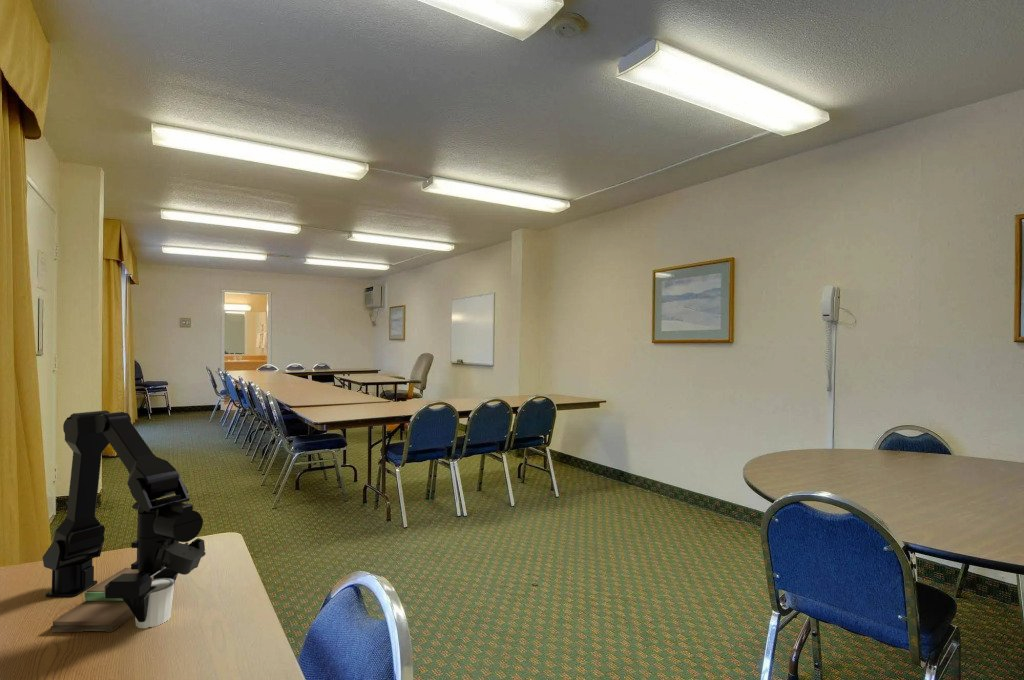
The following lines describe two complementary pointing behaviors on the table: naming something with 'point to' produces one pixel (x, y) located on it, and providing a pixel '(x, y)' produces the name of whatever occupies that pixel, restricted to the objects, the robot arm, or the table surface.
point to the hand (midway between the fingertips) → (153, 612)
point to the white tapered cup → (158, 603)
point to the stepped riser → (96, 611)
